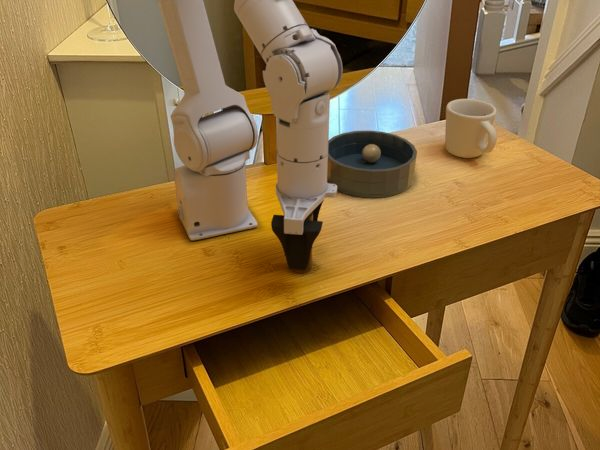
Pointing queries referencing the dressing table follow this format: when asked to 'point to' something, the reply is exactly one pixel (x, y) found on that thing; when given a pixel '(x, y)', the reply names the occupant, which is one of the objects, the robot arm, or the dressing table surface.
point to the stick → (309, 267)
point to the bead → (371, 153)
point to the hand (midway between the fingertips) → (301, 251)
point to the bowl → (371, 164)
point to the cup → (470, 127)
